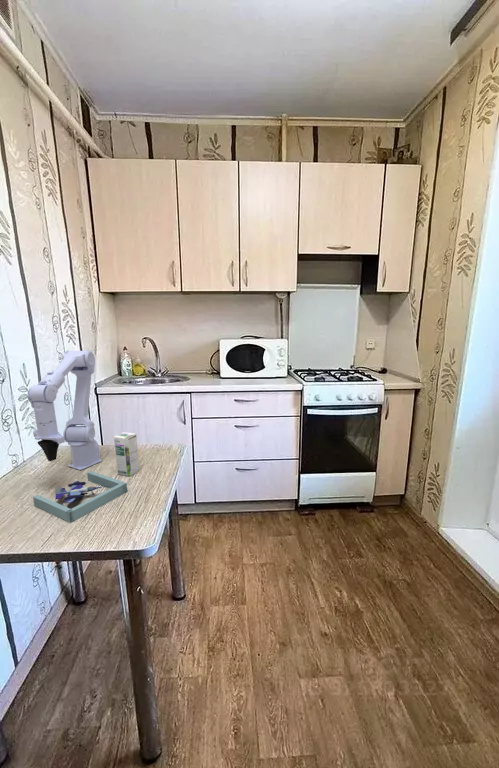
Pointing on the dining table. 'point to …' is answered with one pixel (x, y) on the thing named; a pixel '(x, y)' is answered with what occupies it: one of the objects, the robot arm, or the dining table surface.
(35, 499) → the bay
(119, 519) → the dining table surface
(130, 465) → the syrup box
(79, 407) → the robot arm
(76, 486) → the toy airplane
